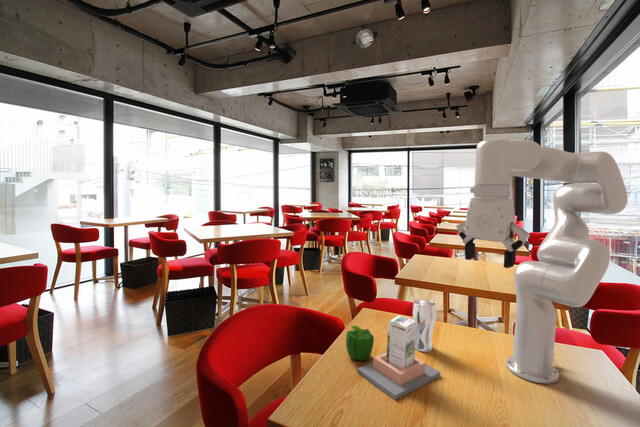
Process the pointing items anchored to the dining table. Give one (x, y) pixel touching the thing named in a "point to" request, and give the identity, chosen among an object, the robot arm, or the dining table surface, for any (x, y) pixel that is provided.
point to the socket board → (397, 376)
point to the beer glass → (424, 324)
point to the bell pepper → (359, 343)
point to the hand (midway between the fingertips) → (488, 262)
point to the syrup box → (401, 342)
